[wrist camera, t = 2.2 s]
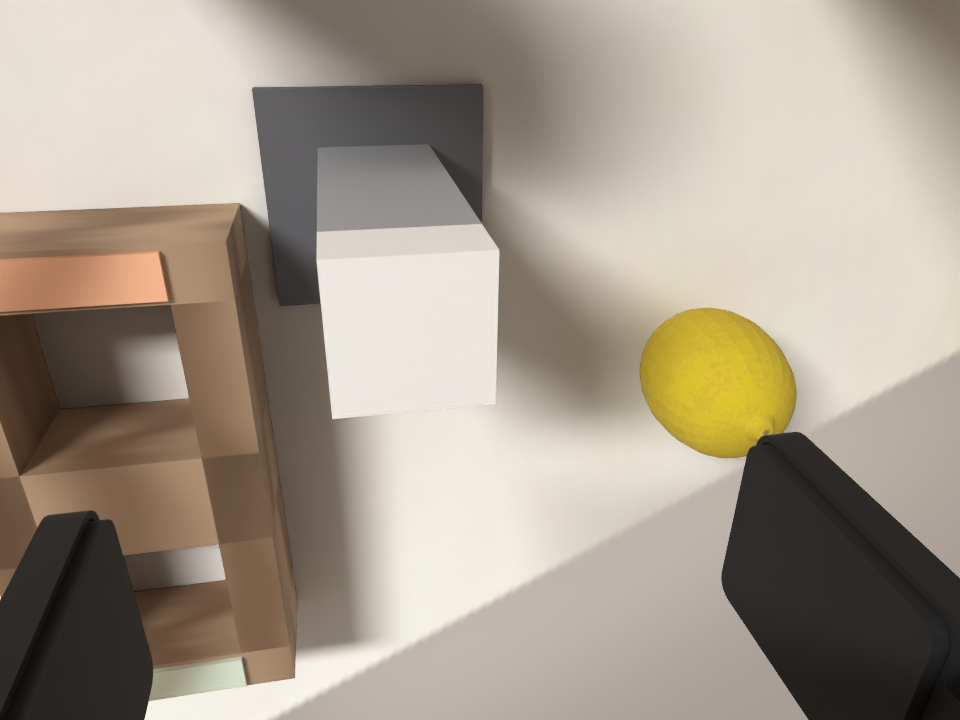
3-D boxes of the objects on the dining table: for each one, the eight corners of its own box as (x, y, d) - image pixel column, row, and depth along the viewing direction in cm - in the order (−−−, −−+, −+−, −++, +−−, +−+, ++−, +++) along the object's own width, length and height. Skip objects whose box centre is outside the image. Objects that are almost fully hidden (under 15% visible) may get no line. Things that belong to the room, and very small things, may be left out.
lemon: (675, 408, 35) (764, 514, 28) (590, 358, 33) (663, 461, 26) (752, 317, 33) (865, 405, 26) (667, 258, 31) (767, 338, 24)
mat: (481, 84, 26) (483, 85, 26) (478, 289, 30) (480, 292, 30) (253, 87, 25) (252, 88, 25) (280, 302, 29) (279, 305, 28)
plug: (428, 144, 27) (499, 249, 16) (431, 248, 28) (495, 403, 18) (317, 147, 26) (316, 260, 16) (327, 254, 28) (332, 419, 17)
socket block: (239, 203, 27) (224, 243, 23) (297, 601, 36) (294, 682, 32) (-64, 215, 25) (-138, 261, 21) (79, 631, 34) (47, 719, 30)
